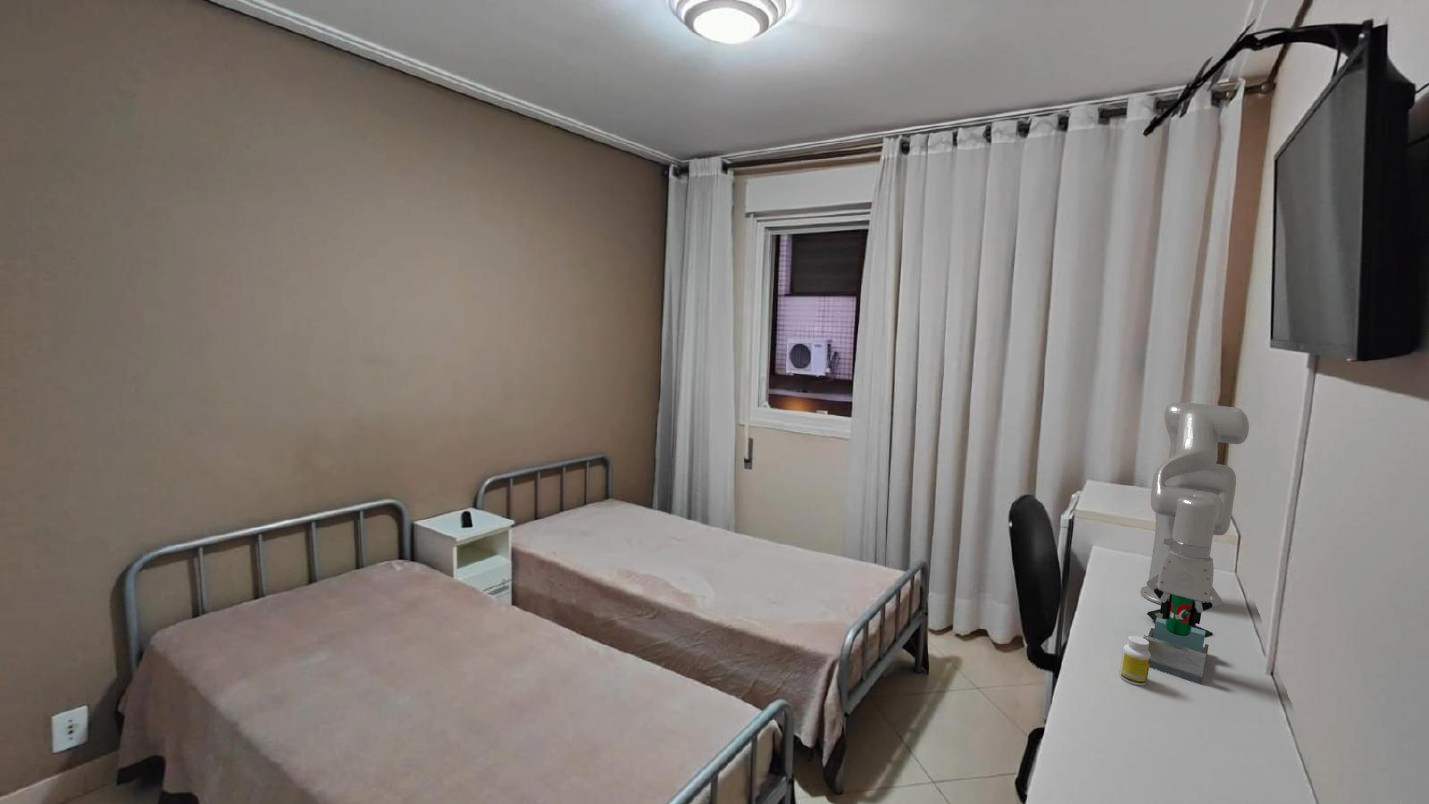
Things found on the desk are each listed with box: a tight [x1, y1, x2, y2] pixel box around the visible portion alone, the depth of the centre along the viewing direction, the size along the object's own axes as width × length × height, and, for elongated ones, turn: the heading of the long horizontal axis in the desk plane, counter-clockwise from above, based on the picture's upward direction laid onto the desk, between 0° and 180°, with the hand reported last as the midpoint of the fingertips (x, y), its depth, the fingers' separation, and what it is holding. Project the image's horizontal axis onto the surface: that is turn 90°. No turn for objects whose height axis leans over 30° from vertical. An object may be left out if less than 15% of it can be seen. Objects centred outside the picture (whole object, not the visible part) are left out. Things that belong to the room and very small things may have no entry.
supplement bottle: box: [1118, 635, 1151, 686], centre depth 146 cm, size 5×5×10 cm
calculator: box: [1146, 608, 1213, 638], centre depth 173 cm, size 9×12×3 cm
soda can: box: [1165, 594, 1196, 636], centre depth 152 cm, size 5×5×12 cm
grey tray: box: [1142, 627, 1210, 685], centre depth 156 cm, size 18×12×6 cm, turn 139°
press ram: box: [1153, 617, 1206, 653], centre depth 160 cm, size 3×10×5 cm, turn 49°
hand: (1179, 620), depth 153 cm, fingers closed on soda can, 5 cm apart
